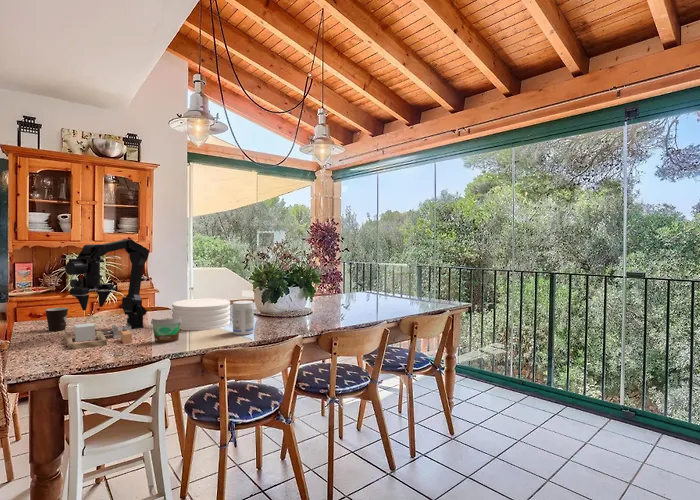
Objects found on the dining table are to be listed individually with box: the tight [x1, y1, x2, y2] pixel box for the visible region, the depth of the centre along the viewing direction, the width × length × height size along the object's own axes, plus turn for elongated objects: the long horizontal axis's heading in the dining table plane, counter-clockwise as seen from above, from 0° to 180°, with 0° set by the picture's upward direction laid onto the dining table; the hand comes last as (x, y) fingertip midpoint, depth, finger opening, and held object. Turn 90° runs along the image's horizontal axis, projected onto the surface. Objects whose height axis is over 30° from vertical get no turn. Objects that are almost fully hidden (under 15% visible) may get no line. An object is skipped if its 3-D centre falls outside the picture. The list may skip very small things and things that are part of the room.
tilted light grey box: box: [74, 322, 96, 343], centre depth 180 cm, size 7×7×6 cm
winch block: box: [102, 322, 133, 339], centre depth 186 cm, size 11×7×4 cm, turn 127°
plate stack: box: [171, 298, 231, 331], centre depth 213 cm, size 28×28×12 cm
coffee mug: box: [45, 307, 69, 333], centre depth 197 cm, size 12×9×10 cm
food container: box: [150, 317, 182, 344], centre depth 177 cm, size 12×6×10 cm, turn 117°
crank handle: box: [120, 328, 133, 345], centre depth 177 cm, size 3×9×5 cm, turn 36°
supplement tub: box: [232, 300, 255, 336], centre depth 195 cm, size 10×10×15 cm
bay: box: [65, 330, 108, 350], centre depth 175 cm, size 13×20×2 cm, turn 37°
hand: (92, 308), depth 182 cm, fingers open, 9 cm apart
